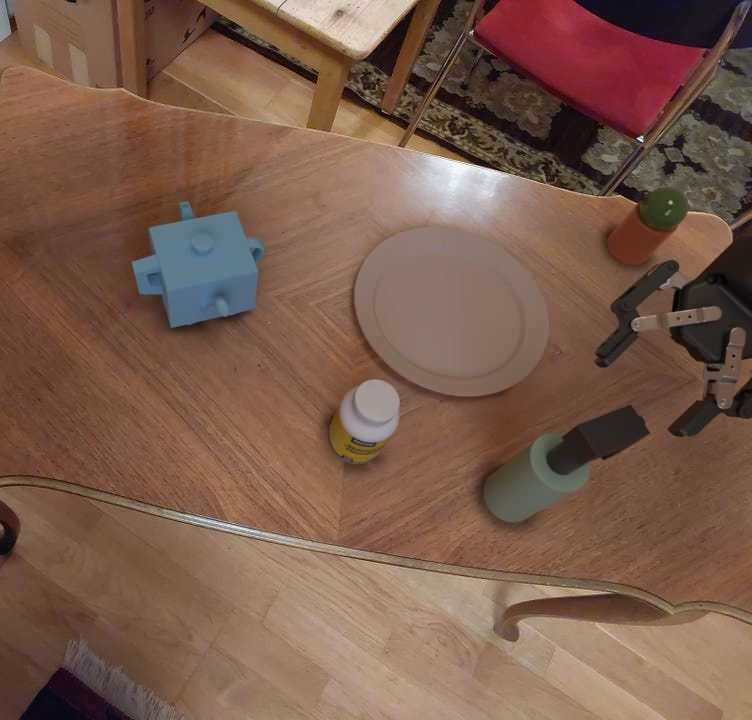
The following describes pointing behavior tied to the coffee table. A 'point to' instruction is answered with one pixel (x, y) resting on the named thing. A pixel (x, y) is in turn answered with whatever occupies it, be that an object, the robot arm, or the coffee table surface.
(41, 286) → the coffee table surface
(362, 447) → the pill bottle
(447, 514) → the coffee table surface
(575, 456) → the spray bottle
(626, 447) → the trigger
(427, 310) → the plate
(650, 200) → the plant pot
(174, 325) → the teapot
